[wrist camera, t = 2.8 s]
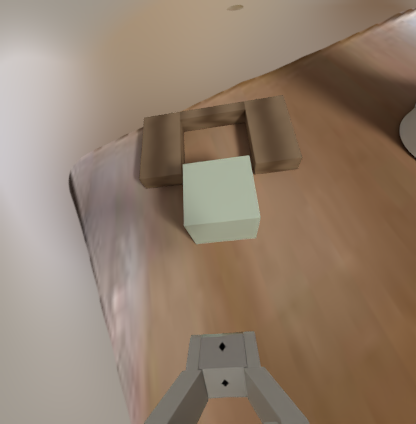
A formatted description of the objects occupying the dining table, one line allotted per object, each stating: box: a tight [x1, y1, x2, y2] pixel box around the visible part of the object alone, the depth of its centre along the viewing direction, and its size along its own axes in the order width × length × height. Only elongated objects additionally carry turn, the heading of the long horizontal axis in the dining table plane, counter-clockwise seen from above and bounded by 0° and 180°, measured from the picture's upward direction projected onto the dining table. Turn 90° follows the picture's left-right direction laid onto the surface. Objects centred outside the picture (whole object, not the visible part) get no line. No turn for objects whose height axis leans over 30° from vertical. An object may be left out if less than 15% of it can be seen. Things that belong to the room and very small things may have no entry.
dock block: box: [139, 95, 302, 189], centre depth 38 cm, size 26×14×3 cm, turn 94°
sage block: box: [183, 155, 261, 244], centre depth 31 cm, size 9×9×8 cm
